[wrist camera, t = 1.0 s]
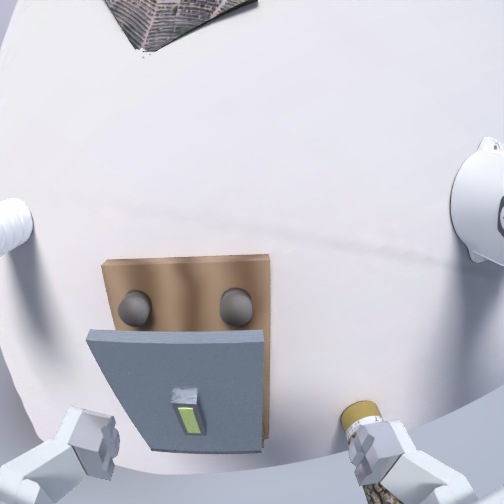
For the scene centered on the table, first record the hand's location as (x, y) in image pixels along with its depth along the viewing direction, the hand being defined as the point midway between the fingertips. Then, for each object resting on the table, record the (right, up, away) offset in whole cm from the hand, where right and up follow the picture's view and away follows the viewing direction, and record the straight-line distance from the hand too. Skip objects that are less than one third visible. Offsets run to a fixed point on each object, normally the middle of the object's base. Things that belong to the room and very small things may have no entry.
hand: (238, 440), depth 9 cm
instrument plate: (-7, -13, +26) cm, 30 cm away
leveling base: (-7, -10, +33) cm, 35 cm away
